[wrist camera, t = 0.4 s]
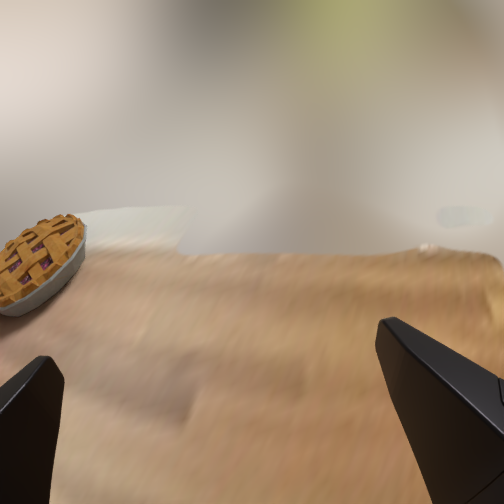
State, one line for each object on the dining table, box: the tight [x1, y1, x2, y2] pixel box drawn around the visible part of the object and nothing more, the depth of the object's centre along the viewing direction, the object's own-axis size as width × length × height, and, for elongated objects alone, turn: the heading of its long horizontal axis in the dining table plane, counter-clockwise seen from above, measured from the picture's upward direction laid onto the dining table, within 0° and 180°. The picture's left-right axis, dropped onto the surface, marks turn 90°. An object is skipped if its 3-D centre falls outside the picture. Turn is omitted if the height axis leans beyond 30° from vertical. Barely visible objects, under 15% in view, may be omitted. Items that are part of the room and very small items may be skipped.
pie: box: [0, 214, 87, 317], centre depth 41 cm, size 22×22×5 cm
